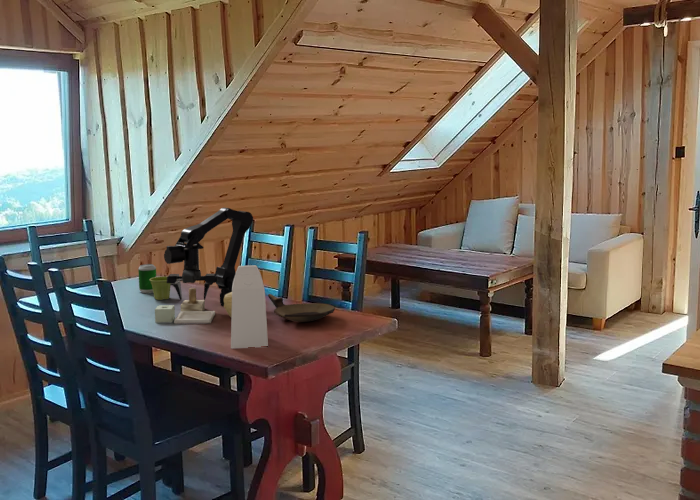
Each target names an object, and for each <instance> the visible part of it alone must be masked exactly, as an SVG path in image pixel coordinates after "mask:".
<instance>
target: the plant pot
mask: <svg viewBox="0 0 700 500" xmlns="http://www.w3.org/2000/svg"><path fill="white" fill-rule="evenodd" d="M167 277H168V276H156V277H154V278H151V279H150V281H151V284H152V288H153V293H152V294H153V297H154V299H155V300H157V301H162V300H168V299H170V296H171V295H170V294H171V287H172V285H170V284H171V283H167Z"/></svg>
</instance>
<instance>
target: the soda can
mask: <svg viewBox="0 0 700 500" xmlns="http://www.w3.org/2000/svg"><path fill="white" fill-rule="evenodd" d="M154 277H157V266H155V265H154V264H151V263H145V264H141V265H139V267H138V287H139V288H138V289H139V290H138V291H140V292H141V293H143V294H154V293H153V288H152V284H151V281H150V279H151V278H154Z"/></svg>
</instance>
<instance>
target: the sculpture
mask: <svg viewBox="0 0 700 500" xmlns="http://www.w3.org/2000/svg"><path fill="white" fill-rule="evenodd" d="M223 308H224V309H225V311H226V313H227V315H228V316H229V317H230V318H231V319H232V292H230V293H228V294H226V295H225V297H224V306H223Z"/></svg>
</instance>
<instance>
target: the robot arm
mask: <svg viewBox="0 0 700 500" xmlns="http://www.w3.org/2000/svg"><path fill="white" fill-rule="evenodd" d="M226 220H230V221H231V226H232V233H231V237H230V240H229V243H228V245H227V246H228V247H227V250H226V253H225V256H224V259H223V263H222V265H220V266H216V268H215V271H214V273H206V274H205V275H202V271H201V269H200V258H199V255H200V254H199V250H202V249H204V248H205V247H204V246H203V245H202V244H201V243H200V242H202V240H203V239H204V238H205V236H206V234H207V233H208V232H210V231H212V230H214V228H216V227H218V226H220V225H221V224H222V223H223V222H225V221H226ZM253 222H254V217H253V214H252V213H251V212H249V211H245V210H235V209H233V208H229V207H221V208H220V209H218V211H217V212H215V213H214V214H212V215H210V216H209V217H208V218H207V217H206V219H205V220H203V221H202V222H199V223H198V224H195V225H190V226H189V227H186V228H184V229H183V230H182V231H181V232H180V237H179V238H178V240H177V241H176V242H175V245H167V246H166V249H165V250H164V253H163V259H164V262H165V263H166V264H167V265H171V264H178V263H183V270H182V275H180V273H170V274H168V275H167V276H166V277H167V283H171V284H170V285H171V286H172V287H174V289H175V290H176V293H177V296H178V298H179V300H180V301H182V299H183V293H182V284H181V282H182V283H183V284H188V283H191V284H194V283H196V282H198V281H199V282H203V281H204V285H203V286H204V289H203V290H204V291H203V300H205V301H206V298H207V295H208V292H209V289H210V287H211V286H213V284H216V285H217V288H218V289H219V290H220V293H219V304H220V306H221V307H224V297H225V295H226V294H228V293H230V292H232V285H233V281H234V277H235V274H236V264H237V261H238V257H239V253H240V250H241V247H242V244H243V241H244V237H245V234H246V233H247V232H248V230H249V229H250V228H251V226H252V224H253Z"/></svg>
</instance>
